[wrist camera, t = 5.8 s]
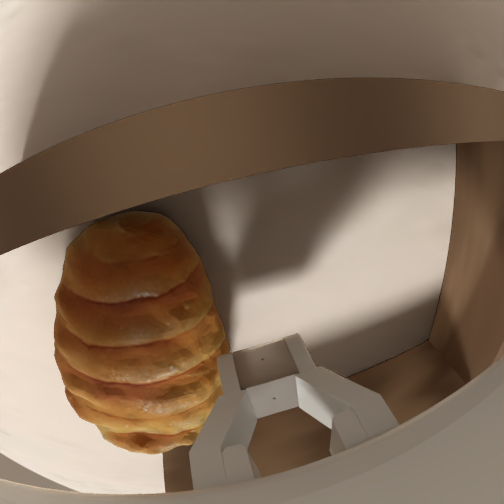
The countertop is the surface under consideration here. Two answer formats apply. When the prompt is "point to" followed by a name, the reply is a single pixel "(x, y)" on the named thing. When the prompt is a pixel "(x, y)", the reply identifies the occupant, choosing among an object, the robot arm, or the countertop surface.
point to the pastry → (138, 333)
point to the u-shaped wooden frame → (288, 155)
